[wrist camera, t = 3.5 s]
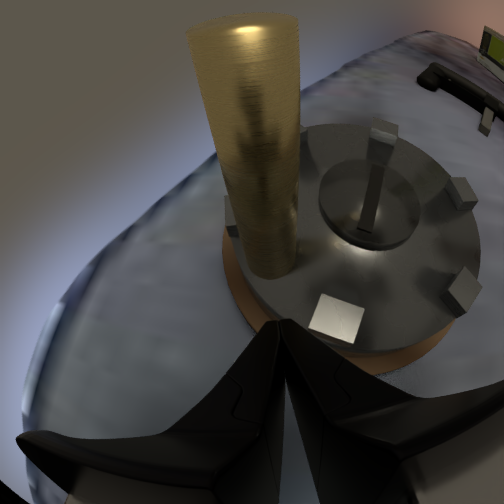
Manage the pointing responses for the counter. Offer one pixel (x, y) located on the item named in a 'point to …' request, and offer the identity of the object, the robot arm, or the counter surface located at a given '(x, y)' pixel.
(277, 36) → the ring nut
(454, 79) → the door handle
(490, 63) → the tea box
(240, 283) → the base
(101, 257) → the counter surface
